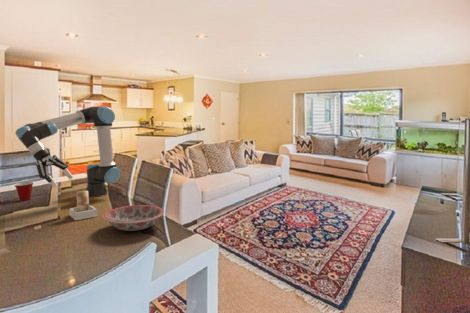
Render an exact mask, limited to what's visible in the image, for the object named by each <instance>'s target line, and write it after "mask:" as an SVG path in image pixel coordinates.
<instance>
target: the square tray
mask: <svg viewBox="0 0 470 313" xmlns="http://www.w3.org/2000/svg"><path fill="white" fill-rule="evenodd" d="M69 216H70V217H71V219H73V220H74V221H79V220H84V219H90V218H94V217H95V218H96V217H98V208H96V207H94V206H93V205H90V204H89V210H88V211H82V212H77V206H76V207H71V208H69Z"/></svg>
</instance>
